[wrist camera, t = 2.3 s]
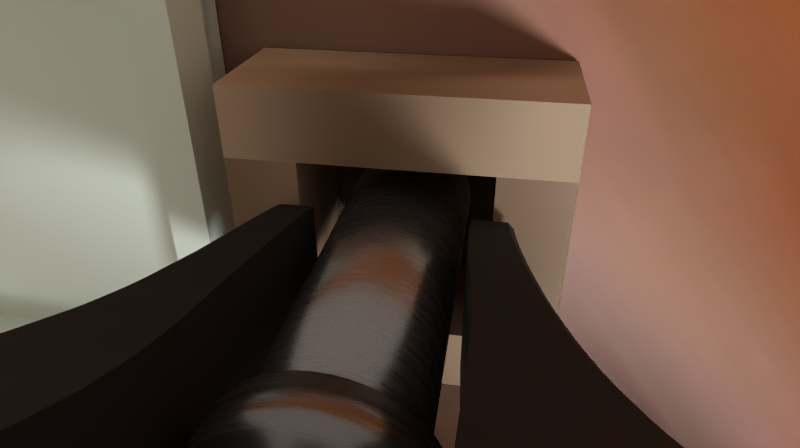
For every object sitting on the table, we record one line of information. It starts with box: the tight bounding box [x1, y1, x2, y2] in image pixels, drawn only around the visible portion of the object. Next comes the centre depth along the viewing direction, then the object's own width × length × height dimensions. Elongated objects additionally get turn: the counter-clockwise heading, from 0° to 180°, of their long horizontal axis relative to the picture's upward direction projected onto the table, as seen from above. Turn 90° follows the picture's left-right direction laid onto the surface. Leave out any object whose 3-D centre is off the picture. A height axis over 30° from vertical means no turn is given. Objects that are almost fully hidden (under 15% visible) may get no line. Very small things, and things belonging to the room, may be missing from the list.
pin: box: [186, 168, 470, 448], centre depth 10 cm, size 3×3×8 cm
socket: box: [212, 48, 591, 386], centre depth 12 cm, size 6×6×2 cm
